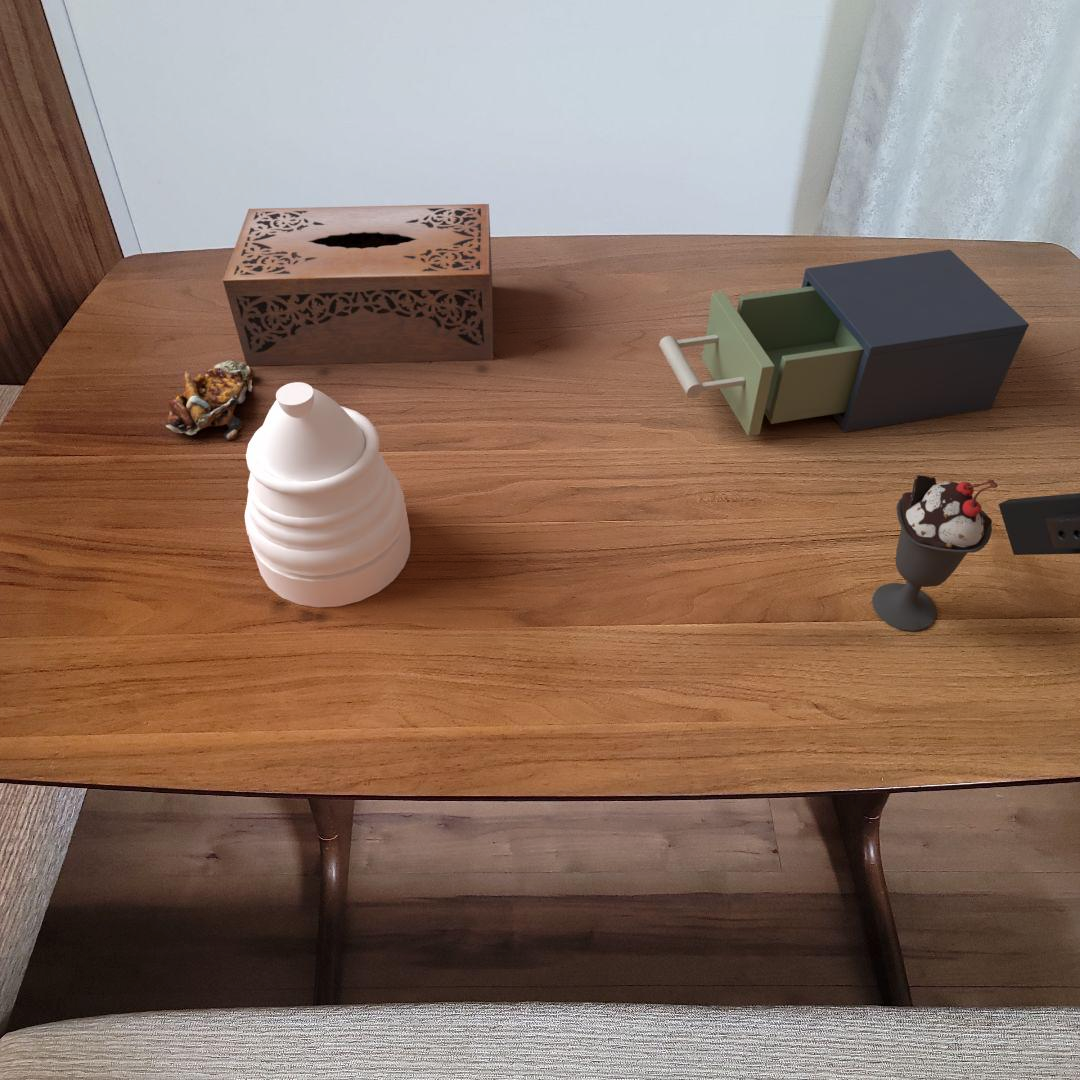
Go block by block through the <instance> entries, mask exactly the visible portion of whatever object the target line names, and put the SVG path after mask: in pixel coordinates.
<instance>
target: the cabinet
mask: <svg viewBox="0 0 1080 1080" xmlns="http://www.w3.org/2000/svg"><path fill="white" fill-rule="evenodd" d="M809 286H813V288H814V289H815V290H816V291H817V293H818V294H819V295H820V296H821V298H822V299H823V300H824V301H825V302H826V304H827V305H828V306H829V307H830V309H831V310H832V311H833V312H834V313H835V315H836V316H837V317H838V318H839V320H840V321H841V322H842V323H843V325H844V326H845V327H846V328H847V329H848V331H849V332H850V333H851V334H852V336H853V337H854V338H855V339H856V340H857V342H858V343H859V344H860V345H861V347H862V348H863V349H864V352H863V356H862V359H861V362H860V366H859V369H858V372H857V375H856V379H855V382H854V385H853V389H852V392H851V395H850V399H849V402H848V405H847V409H846V412H843V413H836V414H831V415H832V416H833V417H834V419H835V421H836V422H837V423H838V424H839V426H840V428H841V429H842V430H843V432H844V433H848V432H855V431H861V430H866V429H868V430H869V429H873V428H880V427H885V426H893V425H898V424H899V425H900V424H904V423H911V422H918V421H922V420H928V419H935V418H941V417H947V416H954V415H960V414H965V413H971V412H972V413H973V412H978V411H985V410H990V409H992V408H993V407H994V404H995V401H996V399H997V398H998V396H999V393H1000V390H1001V389H1002V385H1003V384H1004V381H1005V380H1006V377H1007V375H1008V373H1009V370H1010V368H1011V366H1012V363H1013V361H1014V359H1015V357H1016V355H1017V352H1018V351H1019V348H1020V346H1021V344H1022V341H1023V339H1024V336H1025V334H1026V332H1027V330H1028V328H1029V326H1030V325H1029V322H1028V321H1026V320H1025V318H1024V317H1022V316H1021V315H1020V314H1019V313H1018V312H1017V311H1016V310H1015V309H1014V308H1013V307H1012V306H1011V305H1010V304H1009V303H1008V302H1006V301H1005V300H1004V299H1003V298H1002V297H1001V296H1000V295H999V294H998V293H997V292H995V291H994V289H993V288H991V286H989V285H988V284H987V283H986V282H985V281H984V280H983V279H982V278H981V277H980V276H979V275H978V274H976V272H974V271H973V270H972V268H970V267H969V266H968V265H967V264H966V263H965V262H964V261H963V260H962V259H961V258H960V257H959V256H958V255H957V254H956V253H954V252H953V251H952V250H951V249H942V250H937V251H936V250H935V251H927V252H921V253H913V254H906V255H898V256H890V257H889V256H888V257H882V258H875V259H874V258H873V259H867V260H866V259H865V260H859V261H852V262H844V263H843V262H842V263H837V264H830V265H822V266H815V267H807V268H805V269H804V274H803V280H802V283H801V288H802V287H809Z"/></svg>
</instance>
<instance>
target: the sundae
mask: <svg viewBox="0 0 1080 1080" xmlns="http://www.w3.org/2000/svg"><path fill="white" fill-rule="evenodd" d="M988 484H989V485H988ZM984 485H988V486H986V487H983V488H981V489H980V490H979V491H977V492H976V494H975V495H974V496H973V494H974V492H975V489H974V488H978V487H980V486H984ZM992 488H993V489H996V488H998V484H997V483H996V482H995V480H994V479H988V481H985V482H981V483H979V484H971V482H968V481H961V482H956V481H953V480H949V481H944V482H940V483H937V480H936V477H935V476H928V475H920V474H917V475H916V476H914V480H913V485H912V491H907V492H904V493H903V494H902V495H901V496H902V497H900V498H899V500H898V501H897V504H896V507H895V508H896V517H897V521H898V523H899V525H900V531H899V536H898V540H897V545H896V551H895V552H896V553H895V566H896V567H895V568H896V569H897V572H898V574H899V575H900V576H901V577H902V578H903V579H904V580H905V581H906V582H905V583H900V582H890V583H885V584H883V585H882V586H879V587H878V588H877V589H876V590H875V591H874V593H873V595H872V608H873V609H874V611H875V613H876V614H877V616H878V617H879V618H880V619H881V620H882V621H883V622H885V623H886V624H887V625H888V626H891V627H894V628H896V629H899V630H902V631H910V632H917V631H922V630H925V629H927V628H928V627H930V626H931V625H932V624H934V622H935V621H936V617H937V610H936V605H935V604H934V602H933V600H932V598H931V597H930V595H928V594H927V593H926V592H925V591H923V590H922V588H929V587H930V588H931V587H939V586H940V585H942V584H943V583H944V582H946V581H947V580H948V579H949V578H950V576H951V575H952V574H953V573H954V572H955V571H956V569H957V568H958V567H959V565H960V564H961V563H962V561H963V560H964V559H965V557H966V556H967V555H968V554H969V553H972V554H973V553H976V552H980V551H981V550H983V549H984V548H985V547H986V545H987V544H988V543H989V541H990V538H991V535H992V532H993V526H992V524H993V520H992V518H990V516H989V515H988V514H987V513H986V511H984V510H983V509H982V505H981V503H980V502H978V501H977V498H978V496H979V495H980V494H981V493H982V492H983V491H985V490H988V489H992Z"/></svg>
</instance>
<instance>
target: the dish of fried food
mask: <svg viewBox="0 0 1080 1080" xmlns="http://www.w3.org/2000/svg"><path fill="white" fill-rule="evenodd" d="M205 373H206V374H205V375H203V374H202V373H199V374H197V375H196V377H194V378H193V379H192V375H191V374H190V373H188V372H187V371H185V372H184V376H183V381H184V386H185V391H184V392H182V394H179V395H177V396H176V398H175V399H171V400H169V401H168V402H167V406H168V408H169V414H168V417H167V419H166V420H165V421H166V422H165V427H166V428H168V429H169V430H170V431H172V432H173V433H175V434H186V435H188V436H193V435H195V434H197V432H199V431H201V430H203V429H204V428H208V427H212V426H213V427H218V426H219V427H222V426H224V425H226V426H227V427H228V429H227V430H226V431H225V432H224V433H223V439H224V440H226V441H231V440H234V439H236V438H237V436H238V432H239V431H240V429H242V428H243V422H242V420H240V419H239V418H238V417H236V416H235V415H234V414H233V413H234V410H235V409H236V405H237V404H238V405H240V404H242V403H244V401H245V399H246V392H247V391H248V392H250V393H253V389H254V387H253V385H252V383H253V378H254V374H253V370H252V368H251V366H247V365H246V363H244V362H238V361H233V360H226V361H222V362H221V363H217V364H215V365H214V366H213V367H212V368H210V369H209V370H208V371H206V372H205Z"/></svg>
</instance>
